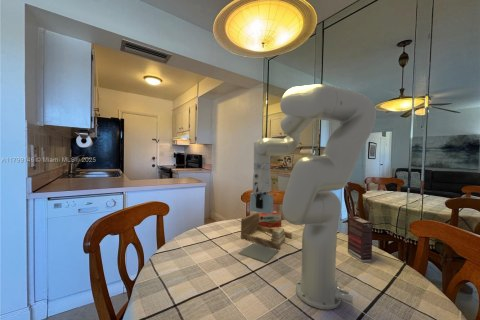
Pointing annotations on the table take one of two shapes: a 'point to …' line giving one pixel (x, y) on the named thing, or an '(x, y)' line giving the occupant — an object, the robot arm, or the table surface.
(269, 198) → the grey blue block
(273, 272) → the table surface
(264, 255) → the mat
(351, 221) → the supplement box
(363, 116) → the robot arm
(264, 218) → the medicine box
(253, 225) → the rack
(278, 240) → the offcut stack
